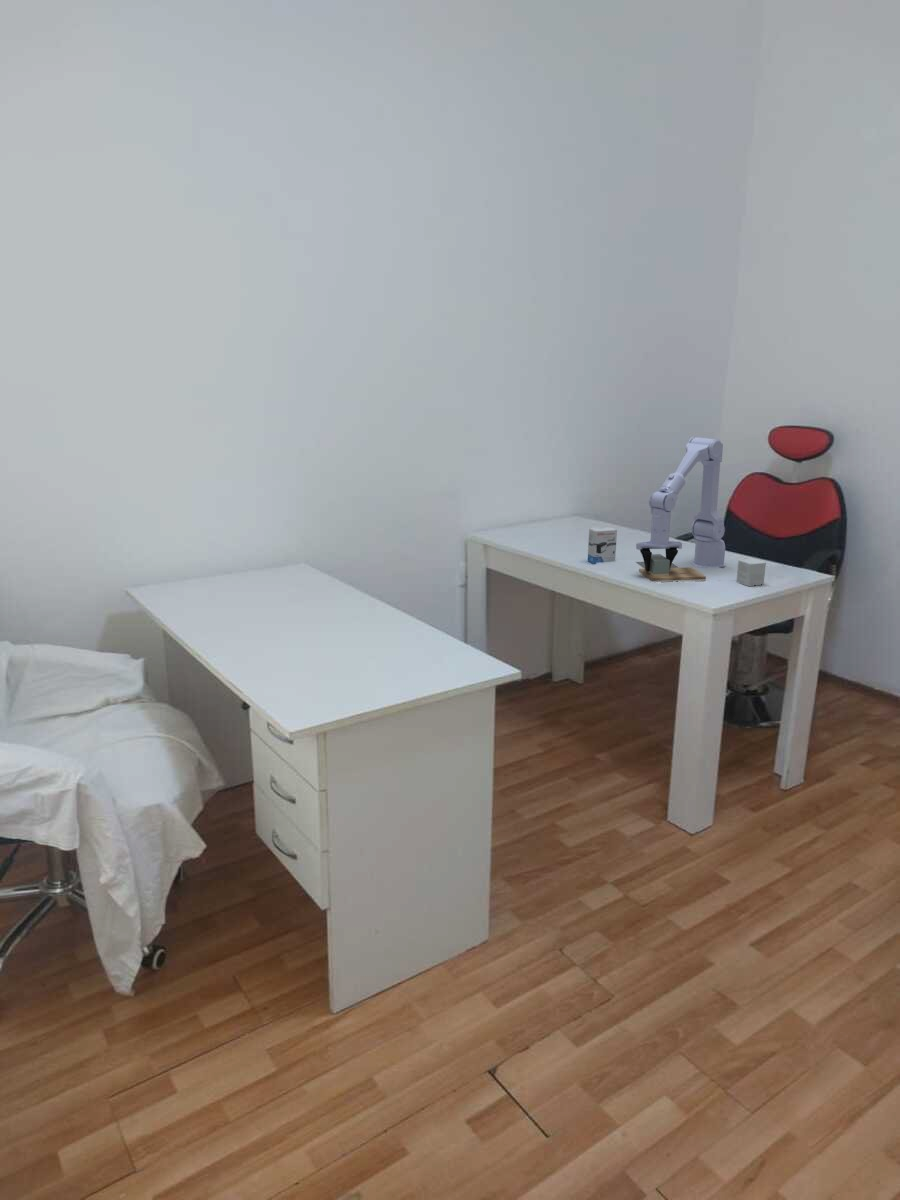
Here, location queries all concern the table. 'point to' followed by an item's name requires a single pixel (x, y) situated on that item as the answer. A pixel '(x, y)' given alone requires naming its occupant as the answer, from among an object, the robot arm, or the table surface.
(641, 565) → the rubber mat
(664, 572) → the block
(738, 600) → the table surface
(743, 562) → the product box
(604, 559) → the ink box
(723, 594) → the table surface
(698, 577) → the oak board
